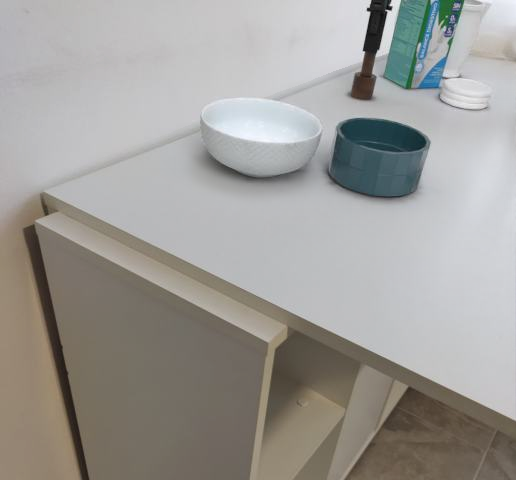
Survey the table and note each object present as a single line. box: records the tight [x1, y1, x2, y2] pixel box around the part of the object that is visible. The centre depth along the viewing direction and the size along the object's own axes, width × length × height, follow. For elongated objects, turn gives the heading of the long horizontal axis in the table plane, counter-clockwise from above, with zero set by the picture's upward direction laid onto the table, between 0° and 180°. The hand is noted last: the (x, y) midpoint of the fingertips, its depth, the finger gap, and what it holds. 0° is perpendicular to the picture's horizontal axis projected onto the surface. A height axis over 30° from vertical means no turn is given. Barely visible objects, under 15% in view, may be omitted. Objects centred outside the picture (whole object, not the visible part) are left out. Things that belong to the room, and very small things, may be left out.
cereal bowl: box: [199, 97, 323, 179], centre depth 76 cm, size 17×17×7 cm
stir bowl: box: [328, 117, 432, 197], centre depth 77 cm, size 13×13×6 cm
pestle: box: [350, 0, 388, 101], centre depth 102 cm, size 4×4×20 cm
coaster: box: [439, 77, 493, 110], centre depth 111 cm, size 10×10×4 cm
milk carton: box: [383, 0, 465, 90], centre depth 112 cm, size 9×9×25 cm
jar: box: [442, 0, 487, 79], centre depth 124 cm, size 11×10×15 cm
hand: (371, 50), depth 103 cm, fingers closed on pestle, 2 cm apart
